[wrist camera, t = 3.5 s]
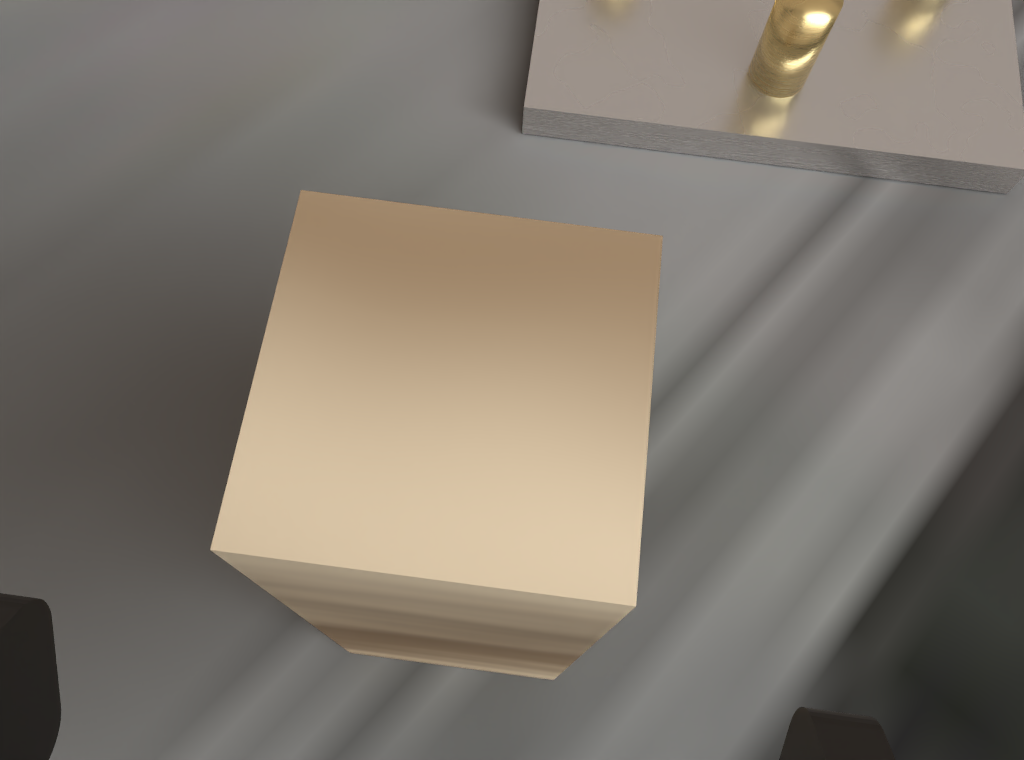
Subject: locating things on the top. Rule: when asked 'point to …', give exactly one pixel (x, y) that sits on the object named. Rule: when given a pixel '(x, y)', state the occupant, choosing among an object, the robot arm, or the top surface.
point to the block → (449, 433)
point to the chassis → (789, 84)
